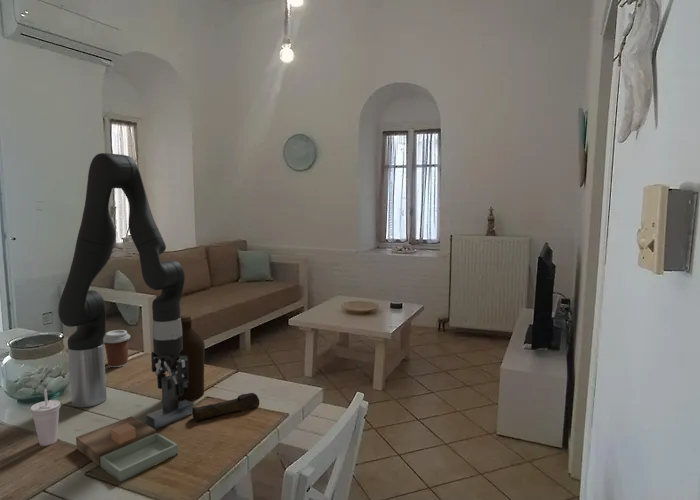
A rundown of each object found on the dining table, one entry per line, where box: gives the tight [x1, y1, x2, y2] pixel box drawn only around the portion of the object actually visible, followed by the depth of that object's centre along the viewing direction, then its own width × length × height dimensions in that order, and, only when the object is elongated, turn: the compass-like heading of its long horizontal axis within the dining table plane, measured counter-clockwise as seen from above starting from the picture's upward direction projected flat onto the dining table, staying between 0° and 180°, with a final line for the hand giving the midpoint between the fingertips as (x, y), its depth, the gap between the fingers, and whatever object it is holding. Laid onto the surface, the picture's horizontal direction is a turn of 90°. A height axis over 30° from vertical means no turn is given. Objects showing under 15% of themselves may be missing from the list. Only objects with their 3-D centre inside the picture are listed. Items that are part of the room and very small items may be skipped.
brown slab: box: [75, 415, 157, 467], centre depth 118 cm, size 12×14×3 cm
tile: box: [111, 423, 136, 444], centre depth 116 cm, size 4×4×2 cm
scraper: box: [145, 374, 195, 430], centre depth 132 cm, size 4×12×12 cm, turn 142°
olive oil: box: [174, 314, 206, 402], centre depth 146 cm, size 11×11×25 cm
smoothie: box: [29, 388, 62, 447], centre depth 119 cm, size 6×6×14 cm
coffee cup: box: [103, 329, 131, 368], centre depth 172 cm, size 9×9×12 cm
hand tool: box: [191, 392, 260, 423], centre depth 135 cm, size 19×4×5 cm, turn 118°
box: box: [100, 432, 179, 482], centre depth 112 cm, size 9×14×2 cm, turn 142°
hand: (170, 391), depth 131 cm, fingers open, 8 cm apart
